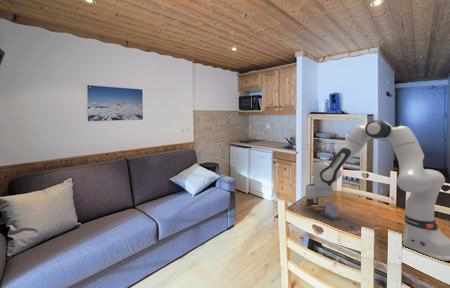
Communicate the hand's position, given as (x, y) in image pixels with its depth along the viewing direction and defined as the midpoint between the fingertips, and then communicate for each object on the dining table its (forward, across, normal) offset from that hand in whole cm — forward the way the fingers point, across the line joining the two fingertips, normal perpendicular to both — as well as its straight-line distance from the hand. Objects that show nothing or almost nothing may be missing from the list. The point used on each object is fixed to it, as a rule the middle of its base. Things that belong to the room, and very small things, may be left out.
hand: (319, 202), depth 157 cm
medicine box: (+6, +1, -12) cm, 13 cm away
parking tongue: (+6, +1, -12) cm, 13 cm away
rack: (+6, 0, +3) cm, 7 cm away
